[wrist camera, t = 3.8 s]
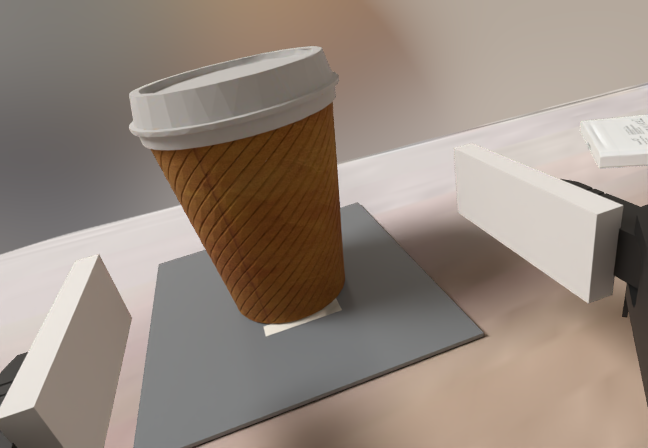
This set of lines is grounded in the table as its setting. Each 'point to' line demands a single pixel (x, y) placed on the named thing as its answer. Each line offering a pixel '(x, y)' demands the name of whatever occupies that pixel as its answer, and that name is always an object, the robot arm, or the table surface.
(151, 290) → the table surface
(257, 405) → the tile
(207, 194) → the disposable coffee cup
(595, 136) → the external hard drive
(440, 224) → the table surface
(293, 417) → the table surface
